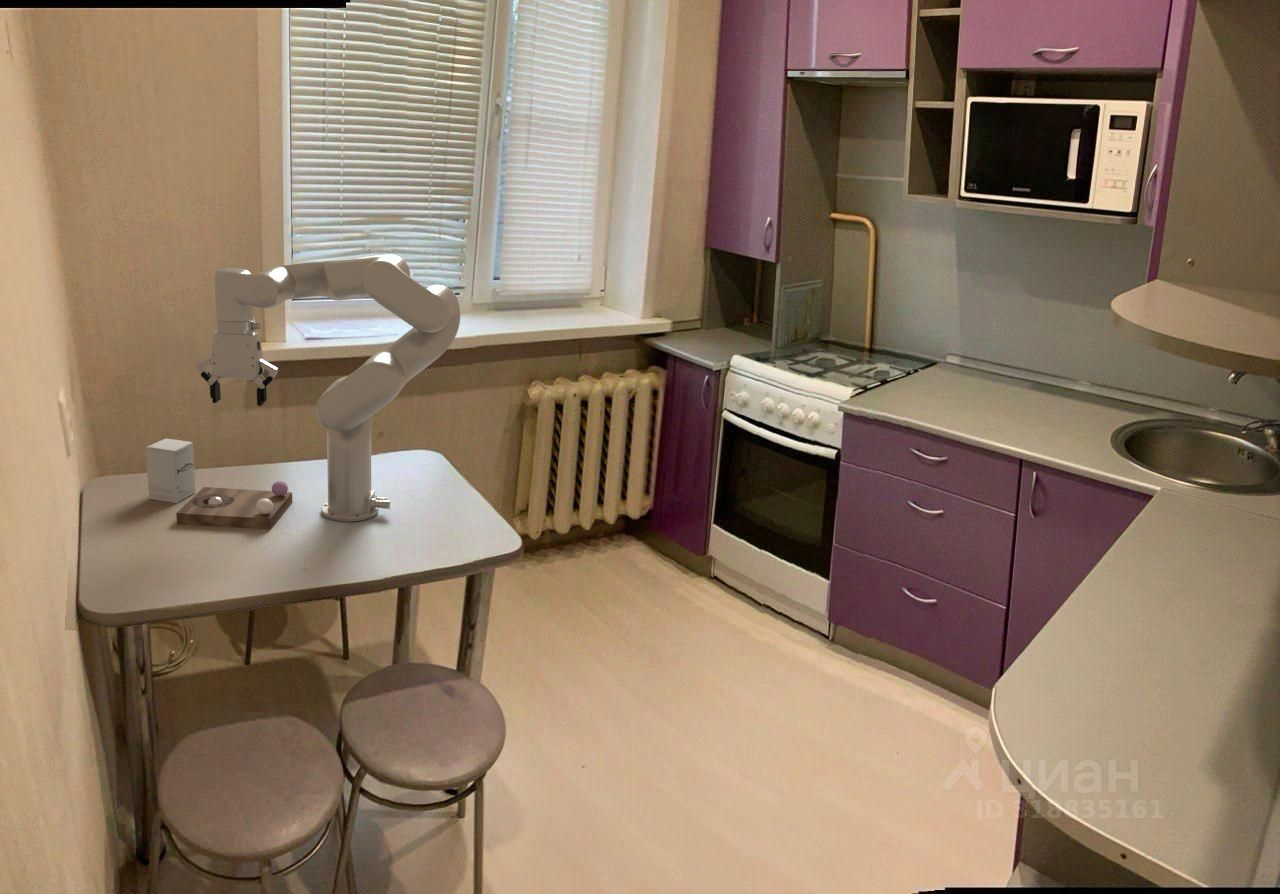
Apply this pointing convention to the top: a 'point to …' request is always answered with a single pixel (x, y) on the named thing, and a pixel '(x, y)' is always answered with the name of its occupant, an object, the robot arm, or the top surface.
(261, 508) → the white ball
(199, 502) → the board
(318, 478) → the top surface
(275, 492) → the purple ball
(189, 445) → the supplement box
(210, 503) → the steel ball
